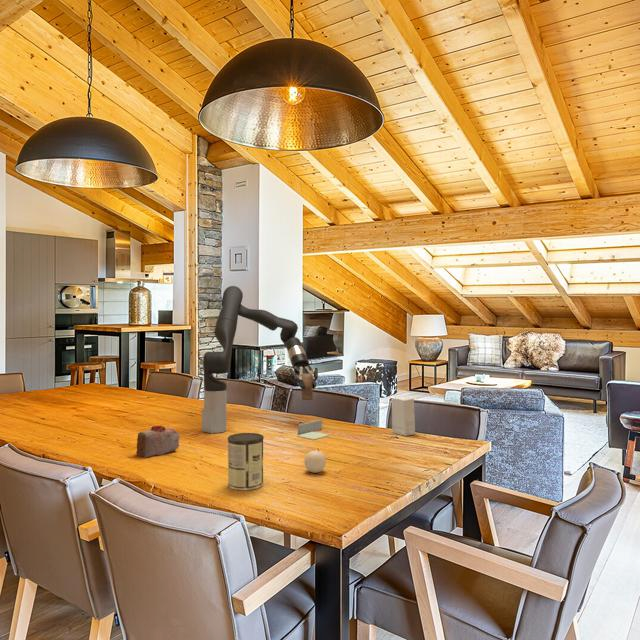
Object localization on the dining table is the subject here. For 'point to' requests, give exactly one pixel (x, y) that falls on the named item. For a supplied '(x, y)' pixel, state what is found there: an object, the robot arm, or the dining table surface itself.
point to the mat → (313, 435)
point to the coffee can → (245, 461)
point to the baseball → (315, 461)
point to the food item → (157, 441)
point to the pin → (307, 386)
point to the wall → (309, 427)
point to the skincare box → (403, 416)
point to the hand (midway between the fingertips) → (309, 387)
